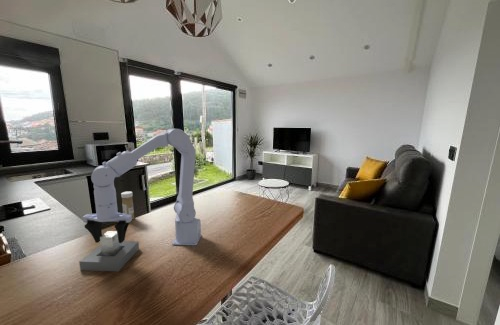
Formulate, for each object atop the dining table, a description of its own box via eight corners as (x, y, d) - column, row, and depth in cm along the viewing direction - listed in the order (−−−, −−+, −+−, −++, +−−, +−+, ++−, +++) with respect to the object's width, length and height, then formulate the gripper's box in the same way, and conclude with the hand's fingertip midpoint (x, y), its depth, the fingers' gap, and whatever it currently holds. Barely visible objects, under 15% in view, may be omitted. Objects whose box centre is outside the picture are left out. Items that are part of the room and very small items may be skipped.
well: (138, 248, 78) (138, 241, 77) (118, 271, 66) (117, 262, 65) (106, 247, 78) (105, 240, 77) (80, 270, 66) (79, 261, 65)
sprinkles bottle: (135, 220, 100) (132, 193, 97) (123, 222, 97) (121, 194, 95) (134, 216, 104) (131, 190, 101) (123, 218, 101) (120, 191, 99)
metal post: (121, 254, 74) (119, 231, 72) (114, 262, 70) (112, 237, 68) (110, 254, 74) (107, 231, 72) (102, 262, 70) (99, 237, 68)
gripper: (135, 198, 72) (138, 235, 75) (92, 198, 72) (96, 234, 74) (123, 206, 65) (127, 246, 68) (75, 206, 65) (81, 246, 68)
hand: (110, 241), depth 71 cm, fingers open, 7 cm apart
